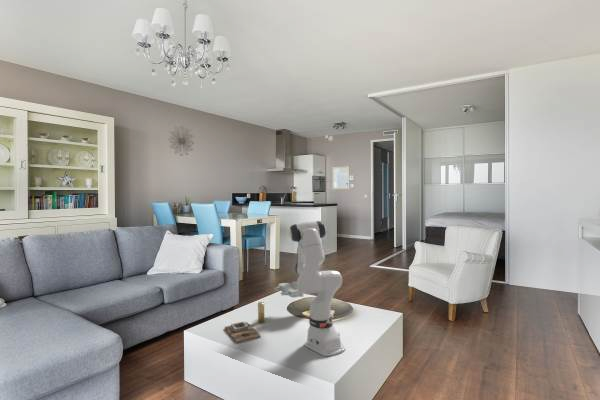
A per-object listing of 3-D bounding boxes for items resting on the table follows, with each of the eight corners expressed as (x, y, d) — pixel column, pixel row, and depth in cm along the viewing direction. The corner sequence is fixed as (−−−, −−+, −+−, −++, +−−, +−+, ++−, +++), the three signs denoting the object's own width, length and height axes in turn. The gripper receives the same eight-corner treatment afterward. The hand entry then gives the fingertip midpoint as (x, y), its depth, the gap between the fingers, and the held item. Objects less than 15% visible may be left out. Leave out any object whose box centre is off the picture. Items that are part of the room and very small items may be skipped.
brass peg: (265, 322, 212) (265, 303, 211) (259, 323, 210) (259, 304, 209) (263, 320, 215) (262, 301, 215) (257, 321, 213) (256, 302, 213)
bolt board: (260, 337, 191) (260, 331, 190) (236, 343, 184) (236, 337, 184) (246, 323, 210) (246, 318, 210) (224, 328, 203) (224, 323, 203)
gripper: (289, 279, 233) (271, 282, 227) (304, 287, 216) (285, 291, 209) (289, 288, 234) (271, 291, 227) (304, 297, 216) (285, 301, 209)
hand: (278, 291), depth 218 cm, fingers open, 8 cm apart
